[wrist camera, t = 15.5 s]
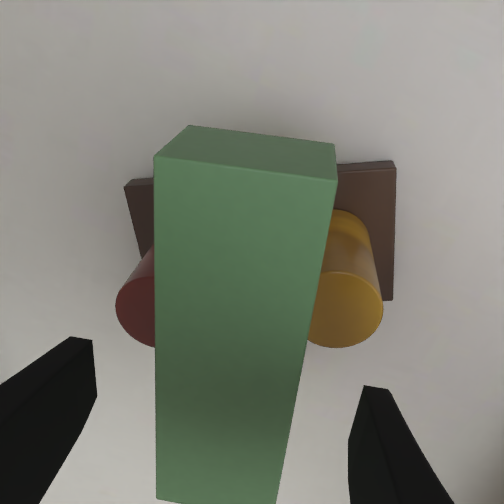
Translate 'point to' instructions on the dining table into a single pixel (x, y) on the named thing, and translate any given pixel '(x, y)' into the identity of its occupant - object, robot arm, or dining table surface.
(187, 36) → the dining table surface
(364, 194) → the rod stand
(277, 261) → the bar
